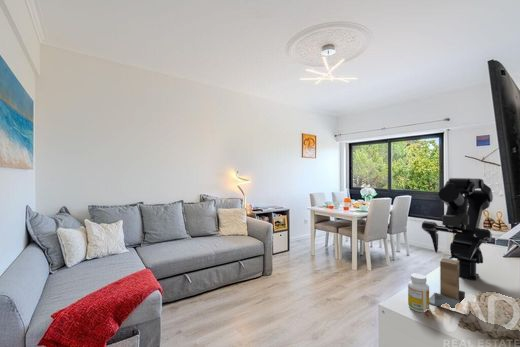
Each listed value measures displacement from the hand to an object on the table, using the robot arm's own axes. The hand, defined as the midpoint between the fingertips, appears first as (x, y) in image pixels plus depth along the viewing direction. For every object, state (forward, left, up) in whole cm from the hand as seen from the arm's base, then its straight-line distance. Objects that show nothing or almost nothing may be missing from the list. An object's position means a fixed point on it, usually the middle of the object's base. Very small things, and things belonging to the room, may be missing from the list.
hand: (452, 255), depth 86 cm
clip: (+11, +2, -12) cm, 16 cm away
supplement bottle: (+20, -4, -12) cm, 24 cm away
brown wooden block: (+11, +2, -12) cm, 16 cm away
